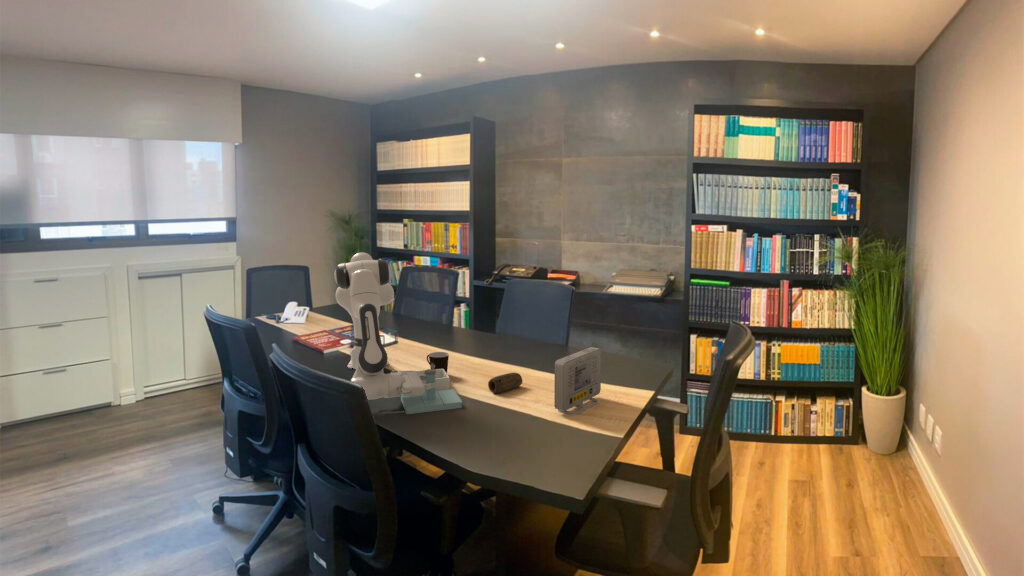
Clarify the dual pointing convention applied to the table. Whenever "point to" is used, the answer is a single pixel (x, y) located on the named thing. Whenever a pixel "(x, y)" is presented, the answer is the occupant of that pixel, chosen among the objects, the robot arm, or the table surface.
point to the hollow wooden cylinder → (504, 382)
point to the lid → (431, 398)
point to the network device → (577, 380)
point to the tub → (439, 380)
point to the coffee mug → (438, 360)
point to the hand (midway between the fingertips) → (432, 381)
